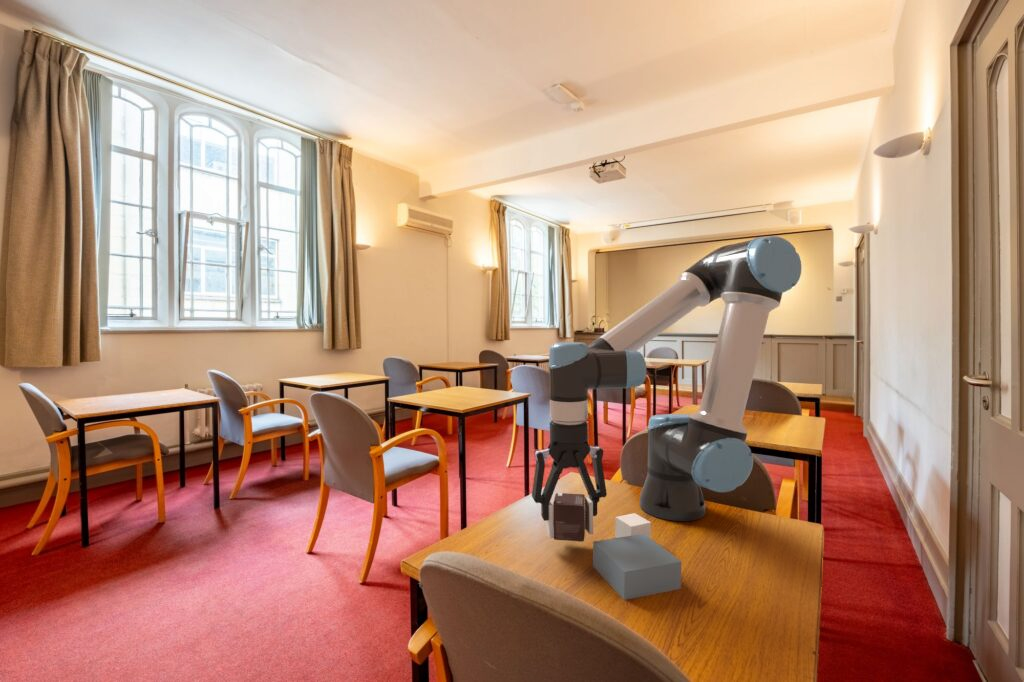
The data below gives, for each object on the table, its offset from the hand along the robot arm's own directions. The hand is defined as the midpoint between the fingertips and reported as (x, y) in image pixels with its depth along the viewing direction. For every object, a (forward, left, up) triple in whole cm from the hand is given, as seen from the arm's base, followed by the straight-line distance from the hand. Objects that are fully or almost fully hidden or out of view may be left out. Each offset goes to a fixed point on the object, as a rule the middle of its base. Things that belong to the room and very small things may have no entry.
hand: (569, 533), depth 94 cm
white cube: (-13, 0, -3) cm, 14 cm away
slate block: (-8, +12, -3) cm, 15 cm away
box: (0, 0, -1) cm, 1 cm away
